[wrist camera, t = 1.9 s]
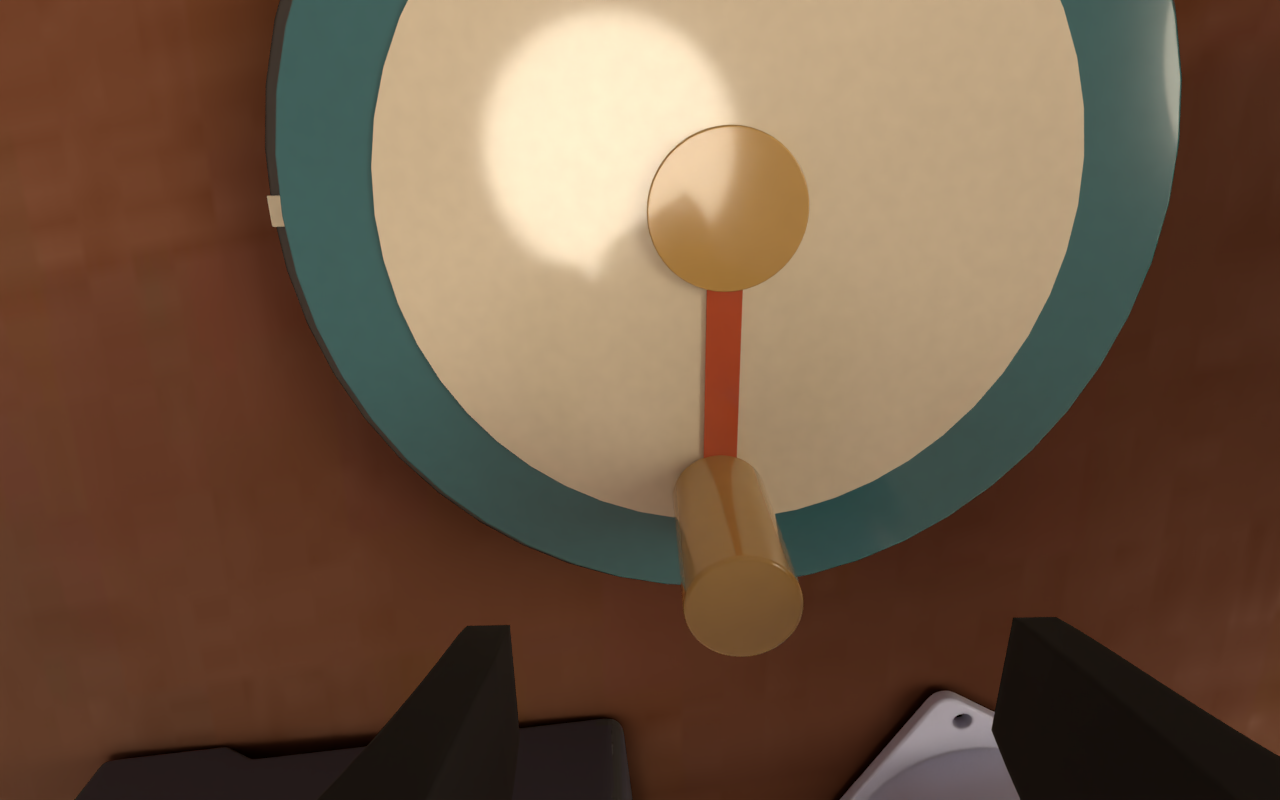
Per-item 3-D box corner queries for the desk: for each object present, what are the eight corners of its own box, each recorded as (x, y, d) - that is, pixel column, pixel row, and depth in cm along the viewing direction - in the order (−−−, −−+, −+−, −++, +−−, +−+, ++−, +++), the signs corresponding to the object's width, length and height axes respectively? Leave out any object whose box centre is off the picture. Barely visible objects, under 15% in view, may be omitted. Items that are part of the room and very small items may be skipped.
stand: (1333, 20, 15) (1394, 11, 14) (825, 661, 20) (837, 695, 19) (522, -605, 12) (509, -688, 10) (178, 353, 17) (144, 371, 16)
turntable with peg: (200, -338, 12) (-67, -620, 7) (1271, -353, 12) (1660, -645, 7) (356, 577, 17) (263, 729, 13) (1069, 567, 17) (1214, 716, 13)
